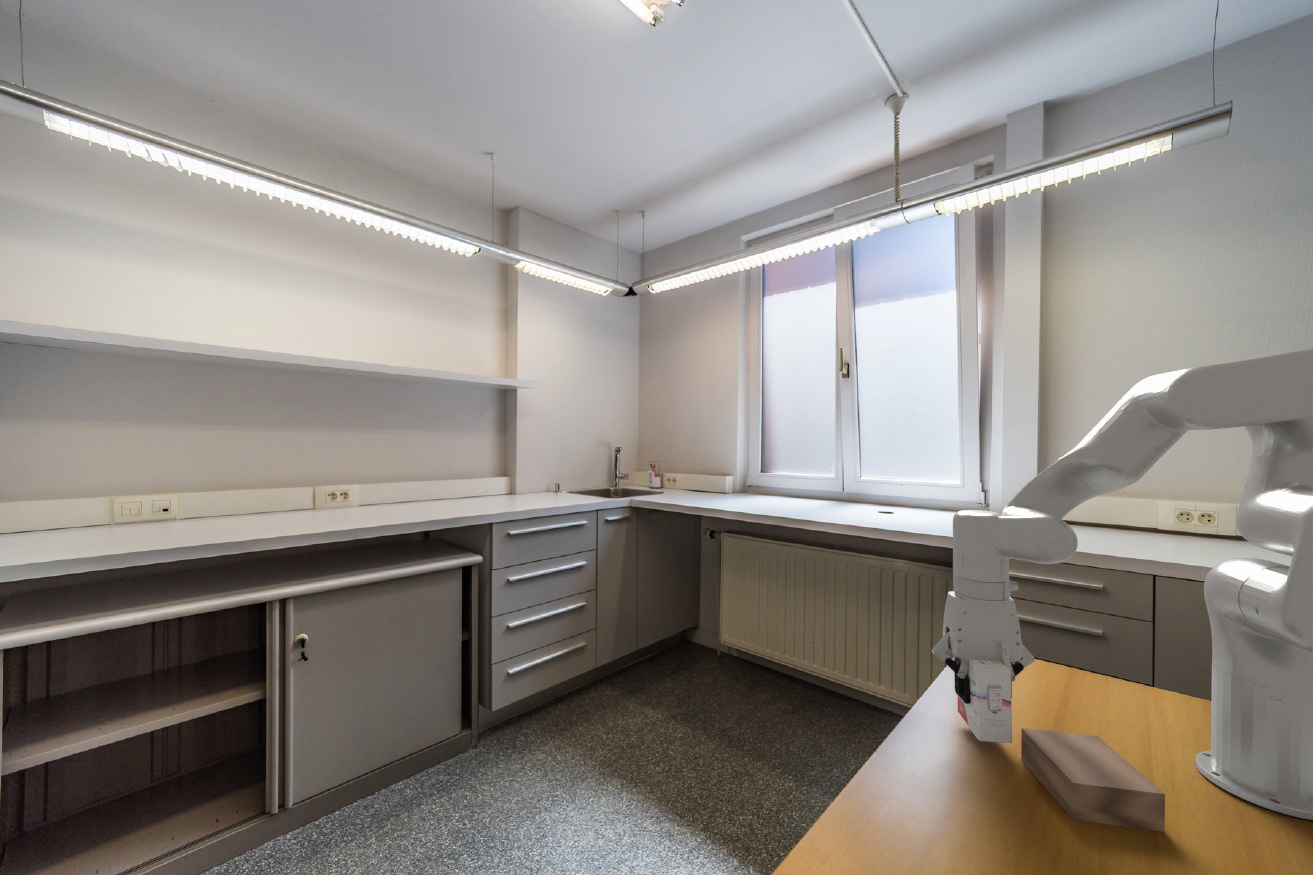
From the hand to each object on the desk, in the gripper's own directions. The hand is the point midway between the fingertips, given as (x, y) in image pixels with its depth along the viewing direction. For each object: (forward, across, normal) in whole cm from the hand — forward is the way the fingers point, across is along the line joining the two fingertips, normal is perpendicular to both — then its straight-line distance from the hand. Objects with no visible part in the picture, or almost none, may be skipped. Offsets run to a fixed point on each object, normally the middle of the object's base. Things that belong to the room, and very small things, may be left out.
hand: (982, 699), depth 79 cm
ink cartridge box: (+5, 0, 0) cm, 5 cm away
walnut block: (+7, -8, +10) cm, 15 cm away
